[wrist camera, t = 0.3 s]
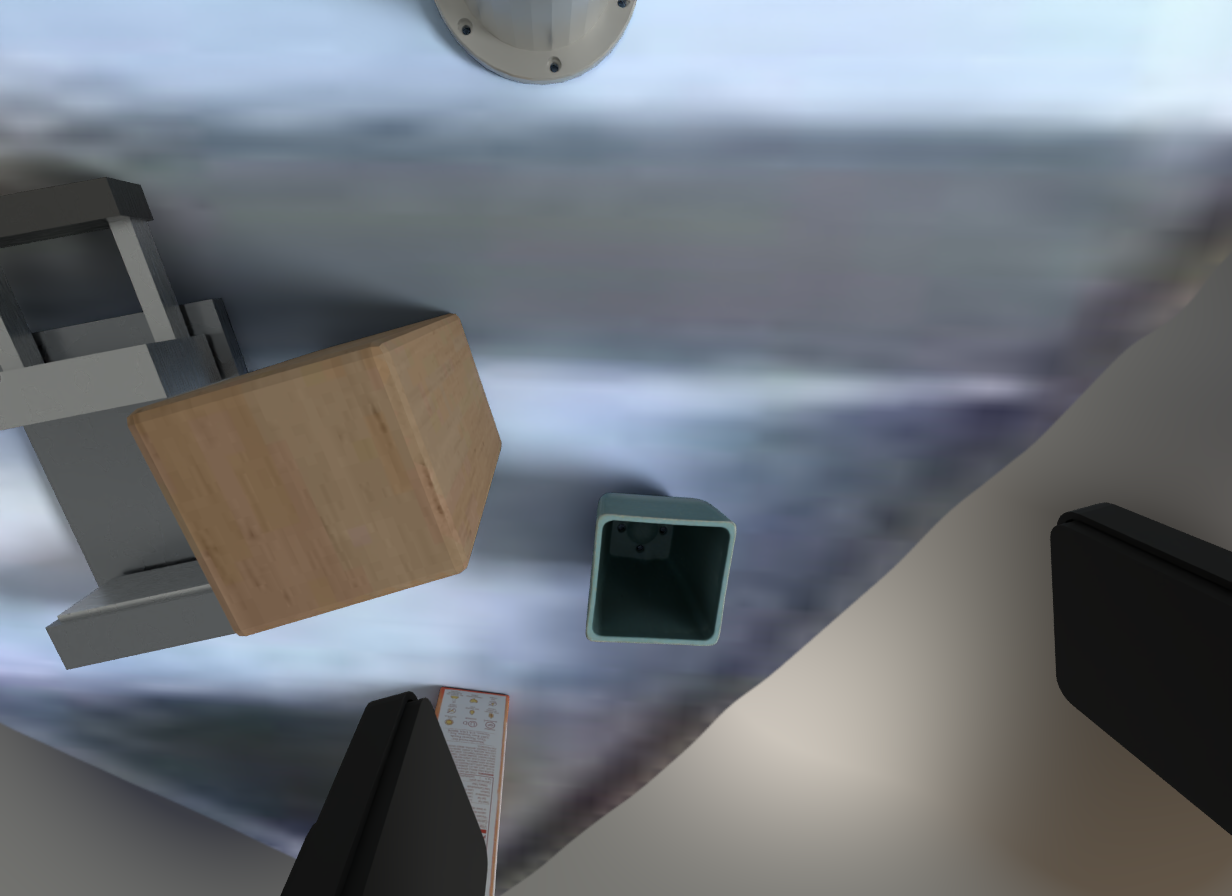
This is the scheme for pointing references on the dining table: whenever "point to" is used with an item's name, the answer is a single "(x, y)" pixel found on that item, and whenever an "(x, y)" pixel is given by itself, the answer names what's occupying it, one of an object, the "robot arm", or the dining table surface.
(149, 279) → the sliding jaw
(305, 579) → the wooden block
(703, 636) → the flower pot
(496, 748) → the cracker box
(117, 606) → the vise
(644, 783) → the dining table surface
